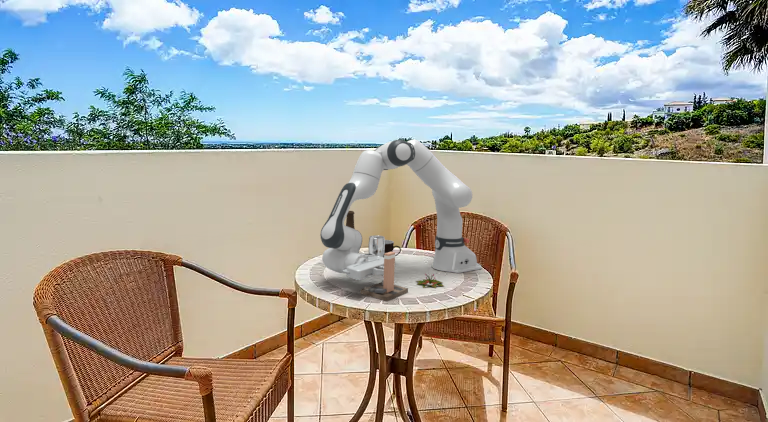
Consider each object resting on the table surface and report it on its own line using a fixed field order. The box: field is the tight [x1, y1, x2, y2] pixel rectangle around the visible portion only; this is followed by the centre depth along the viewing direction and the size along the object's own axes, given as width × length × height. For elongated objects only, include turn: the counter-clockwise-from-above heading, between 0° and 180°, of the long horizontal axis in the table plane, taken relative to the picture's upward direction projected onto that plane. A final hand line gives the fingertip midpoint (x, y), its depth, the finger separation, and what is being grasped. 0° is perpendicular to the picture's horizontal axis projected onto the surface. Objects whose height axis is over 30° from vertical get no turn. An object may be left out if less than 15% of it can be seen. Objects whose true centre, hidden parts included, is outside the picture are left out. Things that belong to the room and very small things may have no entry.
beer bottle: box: [345, 210, 356, 230], centre depth 203 cm, size 8×8×24 cm
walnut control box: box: [360, 281, 409, 302], centre depth 166 cm, size 12×13×3 cm
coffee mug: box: [383, 239, 402, 257], centre depth 206 cm, size 12×9×10 cm
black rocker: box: [374, 288, 387, 293], centre depth 160 cm, size 4×2×1 cm, turn 53°
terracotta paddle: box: [382, 251, 396, 293], centre depth 162 cm, size 2×4×14 cm, turn 143°
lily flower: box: [416, 272, 445, 289], centre depth 178 cm, size 12×12×5 cm
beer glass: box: [367, 234, 386, 257], centre depth 193 cm, size 7×7×15 cm
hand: (387, 272), depth 162 cm, fingers closed, pressing on terracotta paddle
